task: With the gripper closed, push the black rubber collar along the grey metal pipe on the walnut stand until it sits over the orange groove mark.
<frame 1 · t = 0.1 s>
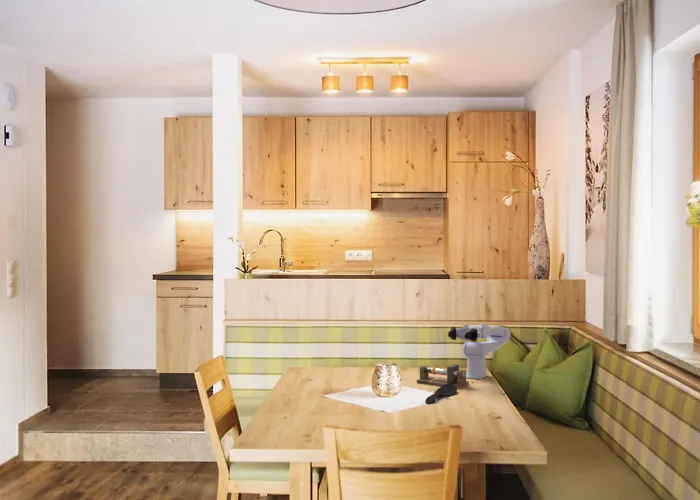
hand: (457, 335, 287), 22 cm above the table, tool horizontal, fingers open, 7 cm apart
collar: (453, 373, 289), point 5 cm above the table, slide at 0.0 cm
pipe stand: (442, 383, 292), on the table
hairbrush: (439, 398, 269), on the table
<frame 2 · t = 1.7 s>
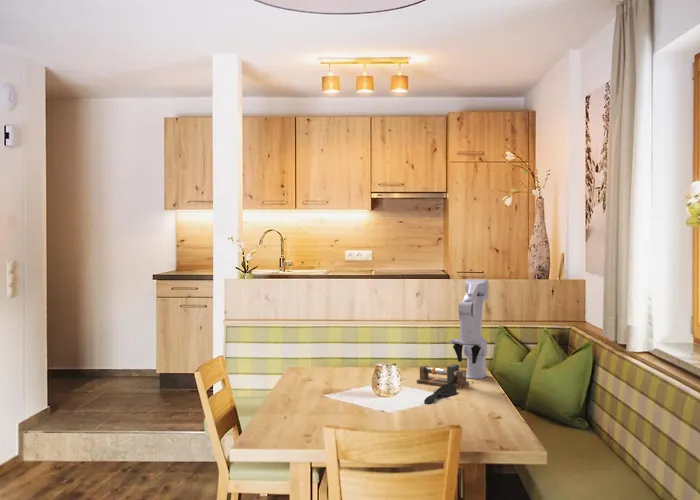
hand: (467, 362, 285), 10 cm above the table, tool pointing down, fingers open, 6 cm apart
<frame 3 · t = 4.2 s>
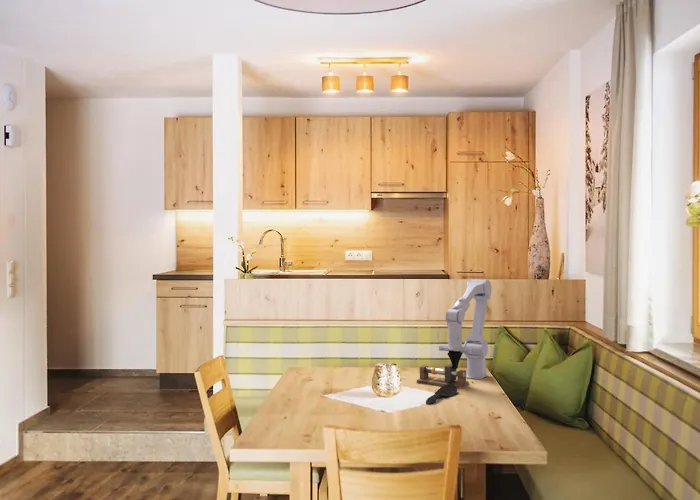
hand: (455, 368, 288), 7 cm above the table, tool pointing down, fingers closed
collar: (450, 373, 290), point 5 cm above the table, slide at 1.2 cm, touching gripper
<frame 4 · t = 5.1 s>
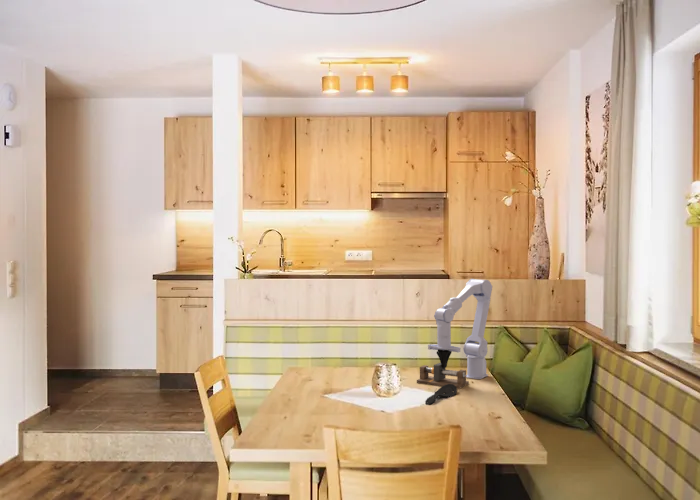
hand: (444, 367, 291), 7 cm above the table, tool pointing down, fingers closed
collar: (439, 371, 293), point 5 cm above the table, slide at 6.4 cm, touching gripper
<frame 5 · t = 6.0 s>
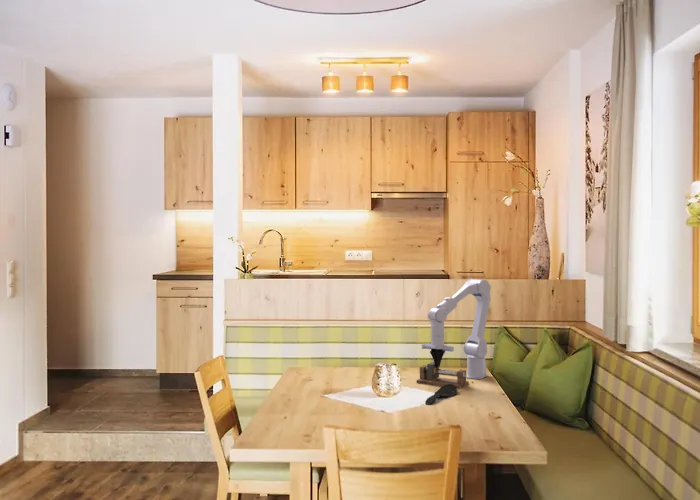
hand: (437, 366, 293), 7 cm above the table, tool pointing down, fingers closed
collar: (433, 370, 294), point 5 cm above the table, slide at 9.6 cm, touching gripper
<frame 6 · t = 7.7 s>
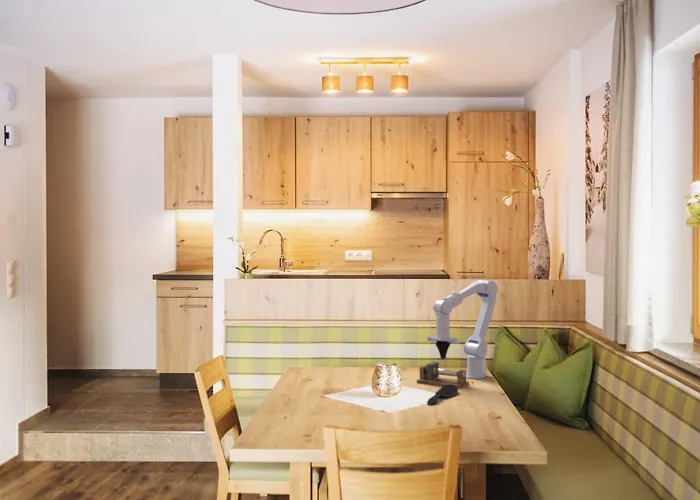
hand: (443, 358, 294), 10 cm above the table, tool pointing down, fingers closed
collar: (432, 370, 294), point 5 cm above the table, slide at 9.7 cm
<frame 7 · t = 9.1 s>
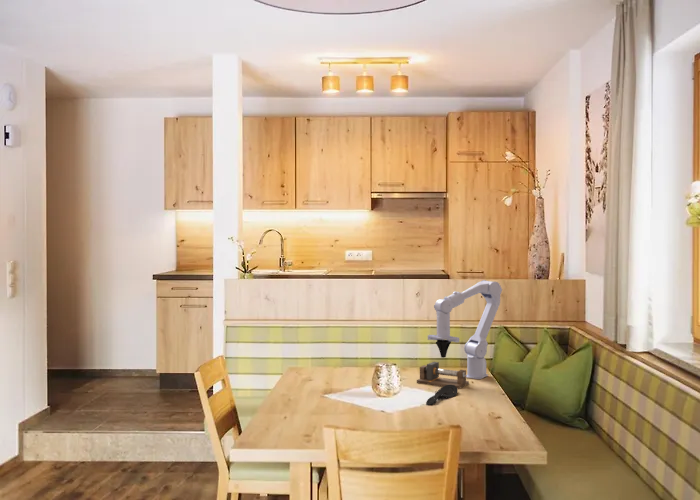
hand: (443, 357, 297), 10 cm above the table, tool pointing down, fingers closed
at the end: collar slide at 9.7 cm; hairbrush moved 2.3 cm from its start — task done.
